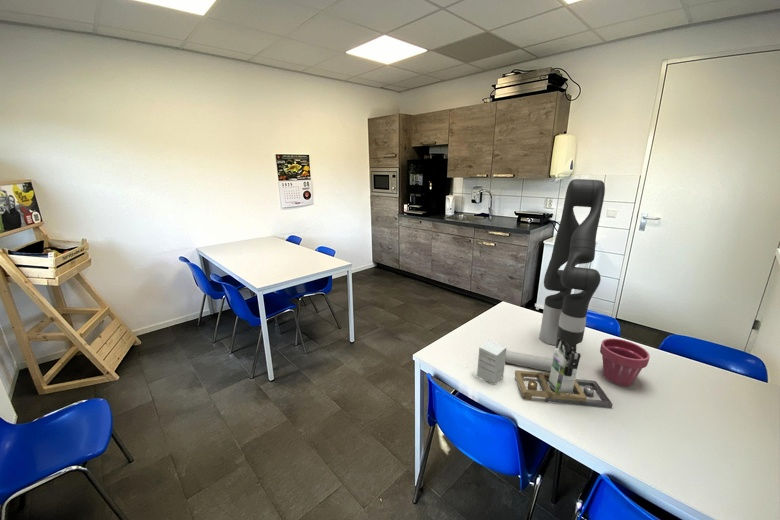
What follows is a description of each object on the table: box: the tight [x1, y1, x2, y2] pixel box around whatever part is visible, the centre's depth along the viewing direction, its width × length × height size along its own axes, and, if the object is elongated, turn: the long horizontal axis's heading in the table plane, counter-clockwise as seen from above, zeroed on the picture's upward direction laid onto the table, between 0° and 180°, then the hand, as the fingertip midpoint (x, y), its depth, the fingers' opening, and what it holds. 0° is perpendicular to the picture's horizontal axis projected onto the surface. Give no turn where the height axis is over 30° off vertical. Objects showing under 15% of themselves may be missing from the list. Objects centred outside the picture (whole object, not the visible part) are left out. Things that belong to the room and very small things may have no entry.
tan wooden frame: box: [514, 369, 588, 402], centre depth 112 cm, size 12×20×3 cm, turn 81°
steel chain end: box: [536, 378, 613, 409], centre depth 111 cm, size 12×20×2 cm, turn 81°
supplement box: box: [476, 339, 507, 386], centre depth 118 cm, size 7×7×13 cm
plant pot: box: [599, 338, 651, 387], centre depth 117 cm, size 14×14×13 cm
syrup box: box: [548, 347, 578, 394], centre depth 109 cm, size 6×6×14 cm
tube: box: [505, 349, 553, 372], centre depth 126 cm, size 5×5×25 cm
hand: (563, 369), depth 109 cm, fingers closed on syrup box, 6 cm apart
